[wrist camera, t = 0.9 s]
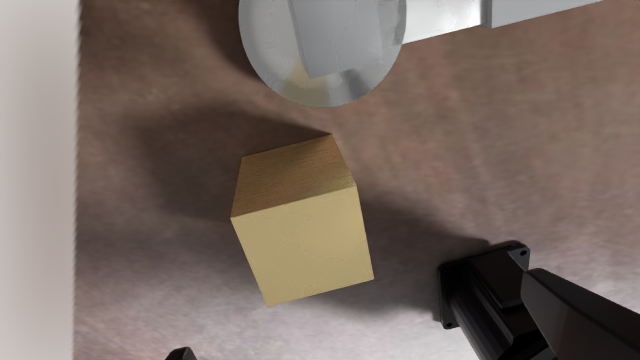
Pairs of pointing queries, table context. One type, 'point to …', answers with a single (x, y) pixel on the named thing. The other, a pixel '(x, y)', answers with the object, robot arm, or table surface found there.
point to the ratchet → (357, 38)
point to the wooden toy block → (300, 221)
